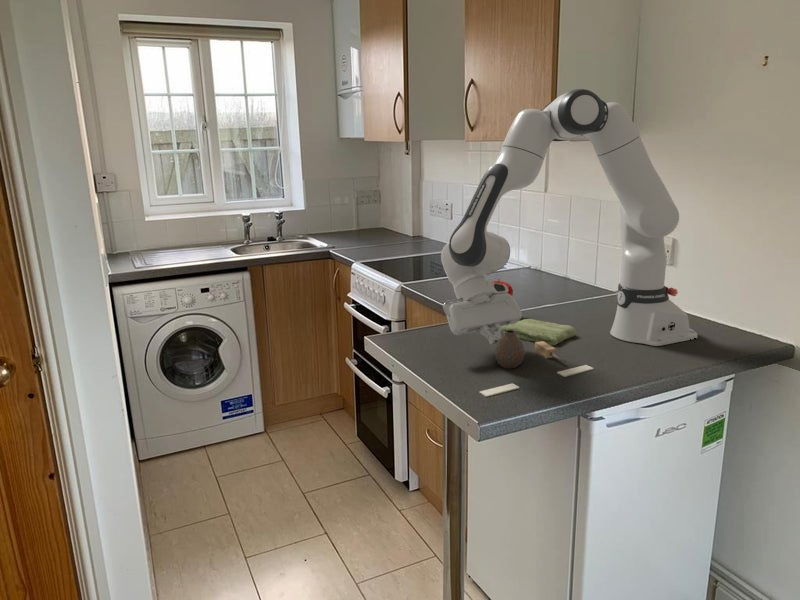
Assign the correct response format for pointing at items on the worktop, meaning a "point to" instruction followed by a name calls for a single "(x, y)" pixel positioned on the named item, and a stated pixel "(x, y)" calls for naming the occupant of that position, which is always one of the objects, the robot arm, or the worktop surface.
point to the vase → (509, 350)
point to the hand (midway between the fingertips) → (496, 342)
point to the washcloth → (541, 331)
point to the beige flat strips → (513, 387)
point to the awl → (546, 350)
